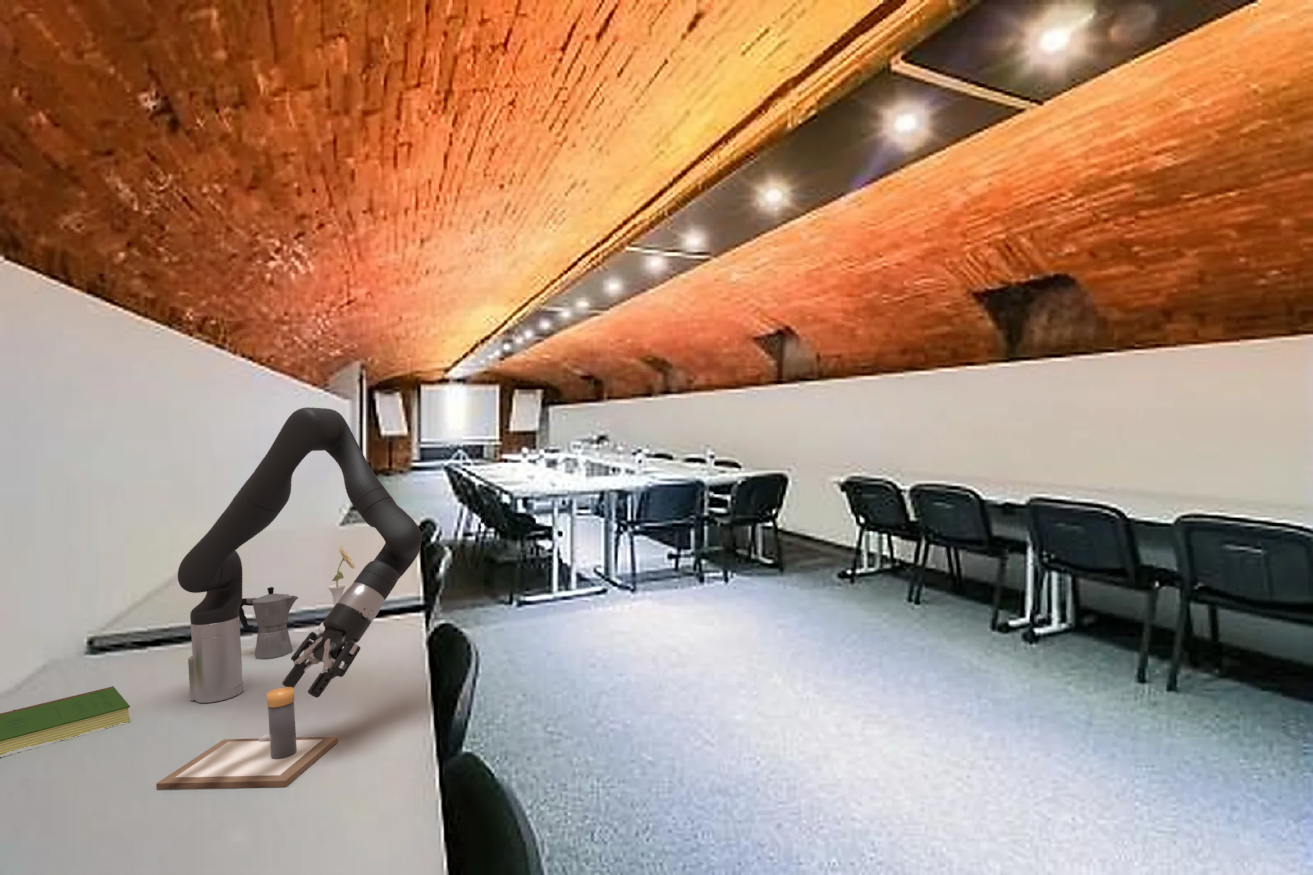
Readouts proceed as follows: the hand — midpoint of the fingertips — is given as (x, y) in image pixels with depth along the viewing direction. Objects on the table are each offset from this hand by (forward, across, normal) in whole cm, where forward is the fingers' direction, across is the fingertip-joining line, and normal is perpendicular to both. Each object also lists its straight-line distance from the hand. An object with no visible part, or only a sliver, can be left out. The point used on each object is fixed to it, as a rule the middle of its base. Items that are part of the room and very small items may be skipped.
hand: (299, 691), depth 122 cm
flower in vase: (-27, -69, +44) cm, 86 cm away
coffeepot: (-12, -67, +28) cm, 73 cm away
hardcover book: (+23, -59, -6) cm, 63 cm away
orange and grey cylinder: (+9, 0, +5) cm, 10 cm away
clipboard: (+13, -4, +3) cm, 13 cm away
